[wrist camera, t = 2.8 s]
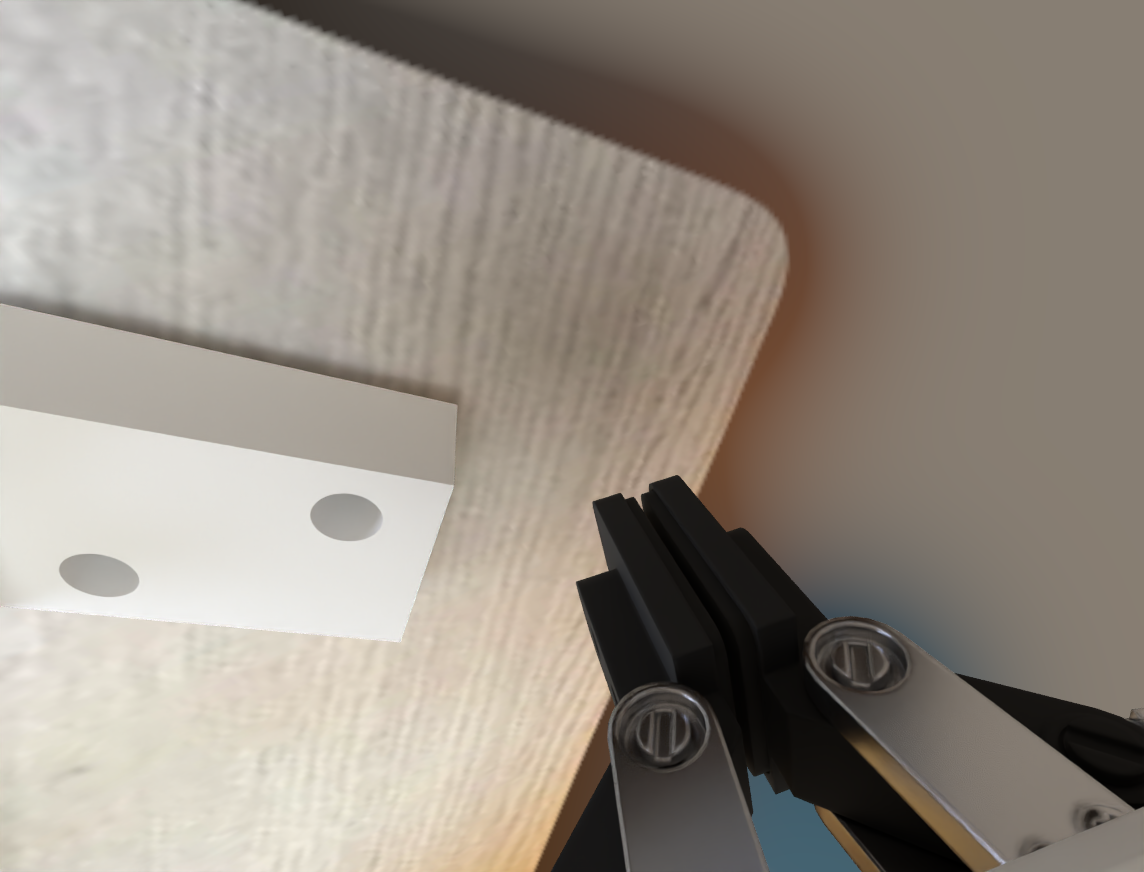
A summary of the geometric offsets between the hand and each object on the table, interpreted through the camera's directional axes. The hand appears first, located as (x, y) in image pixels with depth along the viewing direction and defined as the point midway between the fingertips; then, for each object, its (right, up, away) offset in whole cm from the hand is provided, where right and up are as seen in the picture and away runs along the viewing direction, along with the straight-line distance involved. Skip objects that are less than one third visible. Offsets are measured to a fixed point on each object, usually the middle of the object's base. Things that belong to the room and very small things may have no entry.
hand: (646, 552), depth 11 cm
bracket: (-12, +1, +7) cm, 14 cm away
